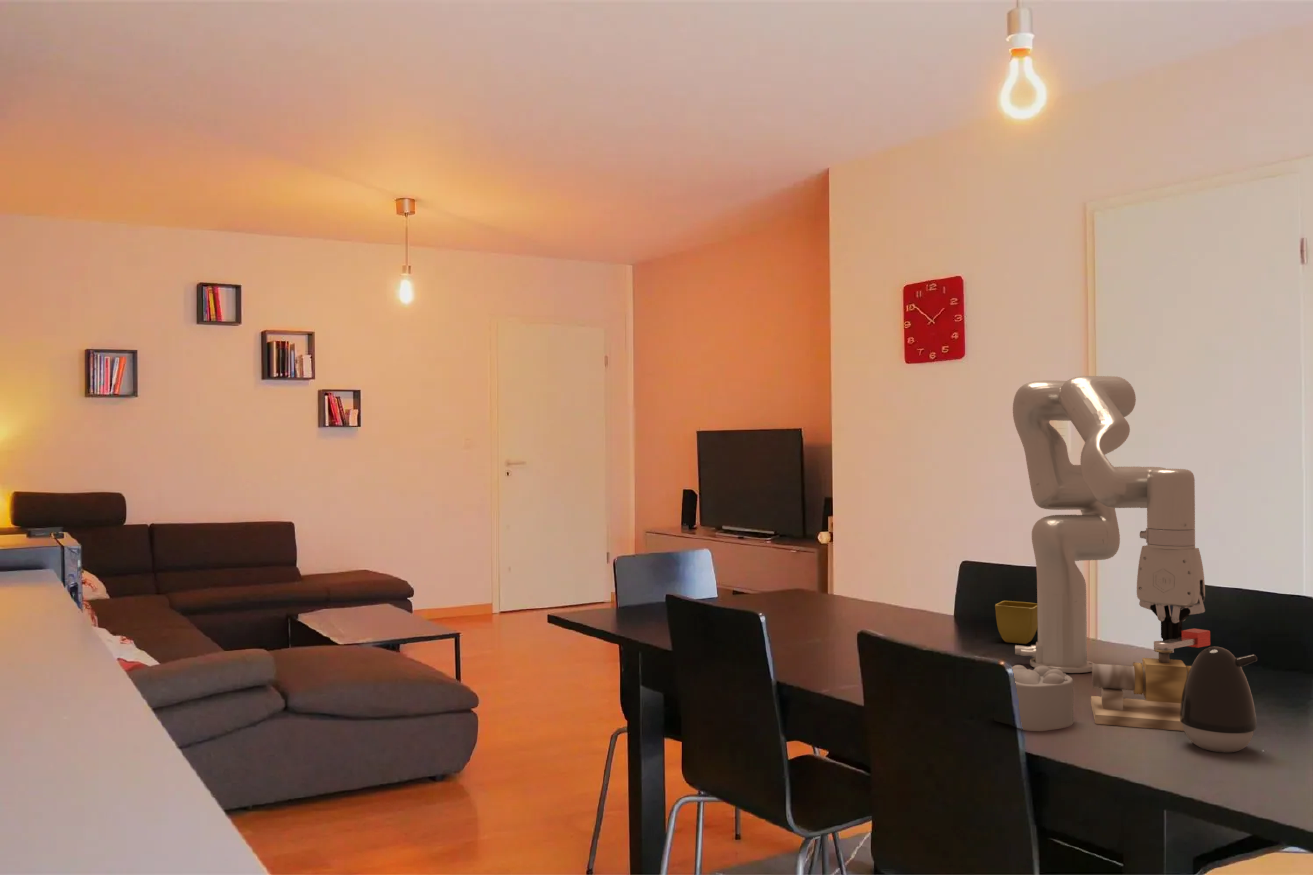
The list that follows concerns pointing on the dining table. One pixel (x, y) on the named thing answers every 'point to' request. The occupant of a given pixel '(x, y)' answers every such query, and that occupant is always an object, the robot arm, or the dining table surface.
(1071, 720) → the lumpy-topped squat cylinder
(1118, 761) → the dining table surface
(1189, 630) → the valve lever
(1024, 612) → the flower pot
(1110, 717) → the valve bench
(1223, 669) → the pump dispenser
